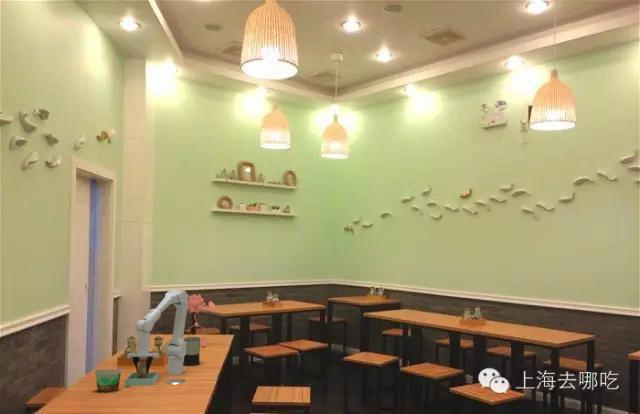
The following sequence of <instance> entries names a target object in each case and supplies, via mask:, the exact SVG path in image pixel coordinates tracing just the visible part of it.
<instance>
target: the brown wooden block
mask: <svg viewBox="0 0 640 414" xmlns="http://www.w3.org/2000/svg"><path fill="white" fill-rule="evenodd" d="M146 368H147V362H146V359H140V361H139V362H137V371H136V373H137V378H138V379H146V378H148V373H149V372H148V373H146Z"/></svg>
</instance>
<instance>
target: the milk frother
mask: <svg viewBox="0 0 640 414" xmlns="http://www.w3.org/2000/svg"><path fill="white" fill-rule="evenodd" d="M201 339H202V337H197V336H188V337H183V340H184V341H185V343H186V350H187V351H186V355H185V356H184V358H183V366H186V365H187V366H186V367H193V366H192V365H196V366H199V365H200V364H199V363H200V354H201V353H200V352H201ZM198 364H199V365H198Z"/></svg>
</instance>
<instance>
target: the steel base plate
mask: <svg viewBox="0 0 640 414" xmlns="http://www.w3.org/2000/svg"><path fill="white" fill-rule="evenodd" d="M186 382H187V380H186V379H183V378H182V379H181V378H177V379H176V378H174V379H173V378H172V379H168V380H165V382H164V383H165V384H166V385H167V384H168V385H181V384H184V383H186Z"/></svg>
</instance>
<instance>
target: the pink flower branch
mask: <svg viewBox="0 0 640 414" xmlns="http://www.w3.org/2000/svg"><path fill="white" fill-rule="evenodd" d="M204 300H205V299H204V298H203V297H202V295H201V294H199V293H198V294H192V295H188V301H187V305H188V306H187V312H189V314H192V313H195V314H194V315H193V317H194V320H195V323H194V324H193V325H192V326H189V327H188V331H190V329H191V328H192V327H195V328H198V327H200V328H203V329H204V330H203V333H205V332H206V331H205V330H206V328H205V327H203V326H201V325H199V324H200V323H199V322H197V319H196V315H197V314H199V313H200V312H203V313H207V312H208V309H209V308H210V309H211V310H213V311H215V310H216V304H215V303H214V302H213V301H211V300H209V302H208V303H207V307H206V310H204V307H205V306H206V302H204ZM200 345H201V346H202V347H203V346H205V347H206V345H207V339H206V338H205V334H203V336H202V337H201V339H200Z"/></svg>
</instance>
